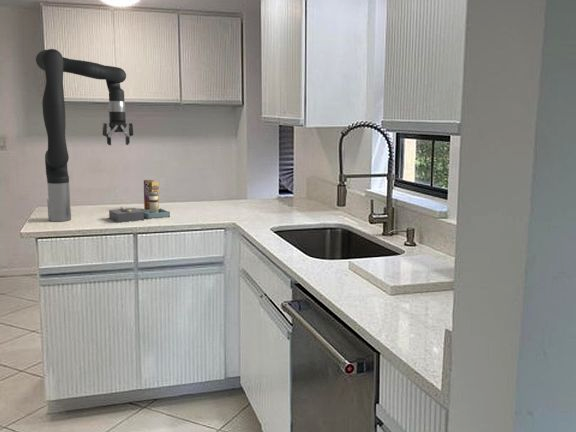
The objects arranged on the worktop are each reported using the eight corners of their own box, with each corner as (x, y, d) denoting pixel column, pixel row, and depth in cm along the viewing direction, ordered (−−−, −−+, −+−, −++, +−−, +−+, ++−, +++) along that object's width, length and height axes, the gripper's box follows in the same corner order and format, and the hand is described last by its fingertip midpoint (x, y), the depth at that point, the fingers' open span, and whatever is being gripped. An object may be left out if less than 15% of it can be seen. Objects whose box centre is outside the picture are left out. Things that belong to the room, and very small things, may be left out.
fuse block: (117, 222, 265) (117, 211, 264) (109, 218, 275) (109, 207, 274) (143, 220, 272) (143, 209, 271) (134, 216, 282) (134, 205, 281)
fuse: (151, 216, 279) (150, 193, 277) (148, 214, 282) (147, 191, 280) (160, 215, 281) (159, 192, 279) (156, 214, 285) (156, 191, 283)
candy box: (159, 211, 296) (159, 180, 293) (151, 212, 293) (151, 181, 290) (151, 208, 302) (150, 179, 300) (143, 209, 300) (142, 179, 297)
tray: (147, 219, 274) (147, 213, 274) (139, 215, 283) (138, 210, 283) (169, 217, 281) (169, 211, 280) (160, 213, 289) (160, 208, 289)
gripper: (104, 110, 275) (106, 145, 278) (134, 111, 283) (135, 145, 286) (99, 110, 281) (101, 144, 284) (129, 110, 289) (130, 144, 292)
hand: (118, 144), depth 285 cm, fingers open, 8 cm apart
